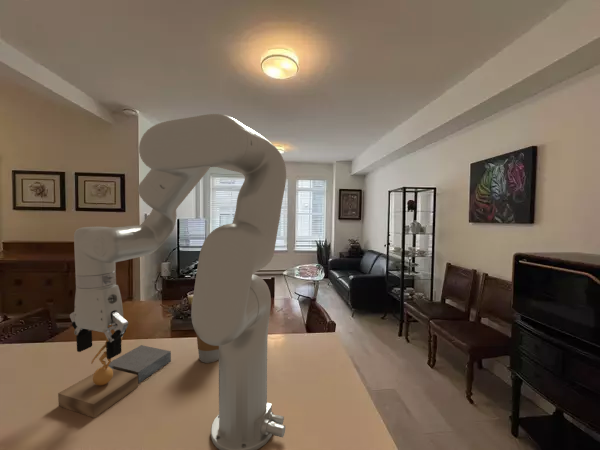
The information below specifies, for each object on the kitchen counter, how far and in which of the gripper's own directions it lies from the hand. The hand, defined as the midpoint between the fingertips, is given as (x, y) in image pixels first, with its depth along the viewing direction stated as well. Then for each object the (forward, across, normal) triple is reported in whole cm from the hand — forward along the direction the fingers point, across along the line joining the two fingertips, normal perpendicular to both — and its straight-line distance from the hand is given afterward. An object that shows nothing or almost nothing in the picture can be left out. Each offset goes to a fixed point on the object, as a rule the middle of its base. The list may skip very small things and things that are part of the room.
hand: (99, 352), depth 66 cm
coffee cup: (+11, -14, -23) cm, 29 cm away
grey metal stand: (+11, +1, -12) cm, 16 cm away
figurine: (+8, -2, 0) cm, 8 cm away
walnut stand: (+11, 0, 0) cm, 11 cm away
